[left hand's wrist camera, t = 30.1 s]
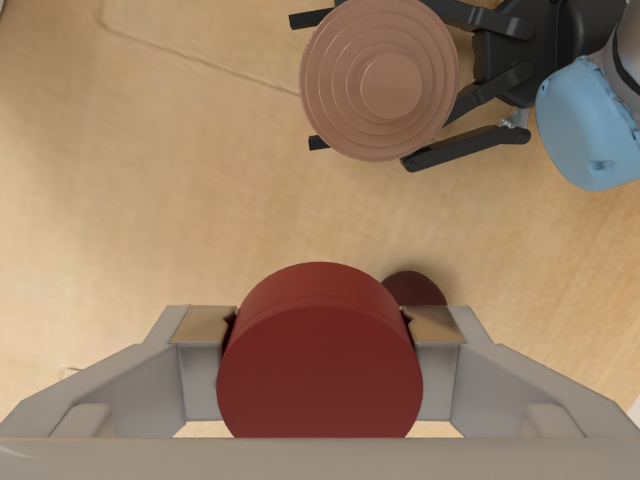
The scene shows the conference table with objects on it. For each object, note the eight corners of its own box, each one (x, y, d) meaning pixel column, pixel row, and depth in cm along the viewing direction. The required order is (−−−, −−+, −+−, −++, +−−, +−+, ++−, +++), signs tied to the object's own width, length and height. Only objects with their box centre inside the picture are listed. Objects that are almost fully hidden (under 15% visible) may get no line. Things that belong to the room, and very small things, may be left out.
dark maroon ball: (441, 317, 48) (459, 355, 42) (369, 328, 49) (377, 368, 42) (434, 255, 46) (453, 285, 39) (359, 267, 46) (365, 300, 40)
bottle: (357, 139, 42) (392, 219, 20) (291, 78, 40) (252, 96, 18) (420, 70, 40) (533, 77, 18) (353, 2, 38) (390, -80, 16)
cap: (402, 253, 9) (422, 295, 7) (407, 401, 10) (425, 467, 9) (219, 269, 9) (197, 314, 8) (247, 414, 11) (233, 481, 9)
